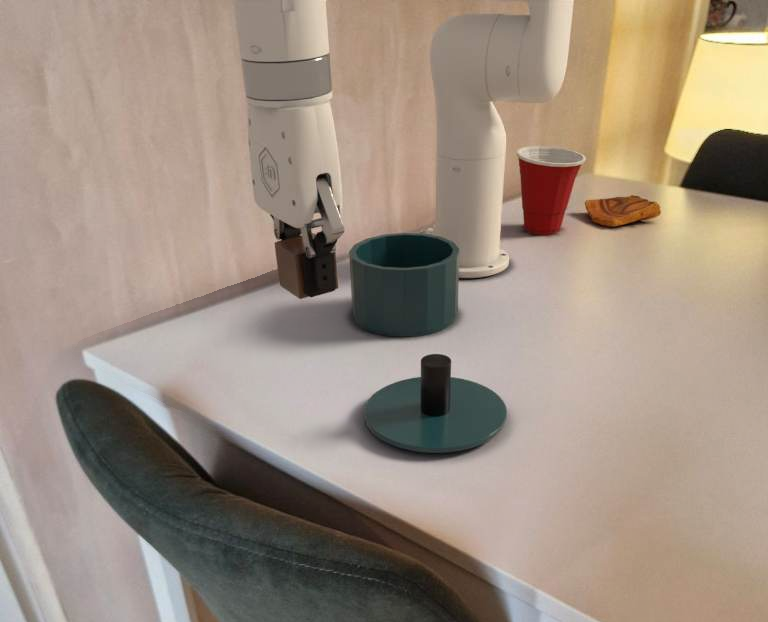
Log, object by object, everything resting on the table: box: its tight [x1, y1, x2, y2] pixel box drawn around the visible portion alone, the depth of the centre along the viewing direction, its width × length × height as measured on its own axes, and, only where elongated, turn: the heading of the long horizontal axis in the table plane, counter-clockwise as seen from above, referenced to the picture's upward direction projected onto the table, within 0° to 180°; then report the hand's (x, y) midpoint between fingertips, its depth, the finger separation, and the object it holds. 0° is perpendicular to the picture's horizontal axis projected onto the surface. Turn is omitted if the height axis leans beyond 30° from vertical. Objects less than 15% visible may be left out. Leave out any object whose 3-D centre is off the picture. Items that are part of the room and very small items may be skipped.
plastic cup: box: [516, 145, 587, 236], centre depth 123 cm, size 11×11×12 cm
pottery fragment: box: [584, 194, 662, 227], centre depth 129 cm, size 10×5×10 cm
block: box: [274, 232, 339, 300], centre depth 76 cm, size 4×4×4 cm
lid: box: [364, 353, 508, 454], centre depth 77 cm, size 15×15×7 cm
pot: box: [348, 232, 460, 338], centre depth 98 cm, size 14×14×8 cm
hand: (308, 283), depth 77 cm, fingers closed on block, 4 cm apart
